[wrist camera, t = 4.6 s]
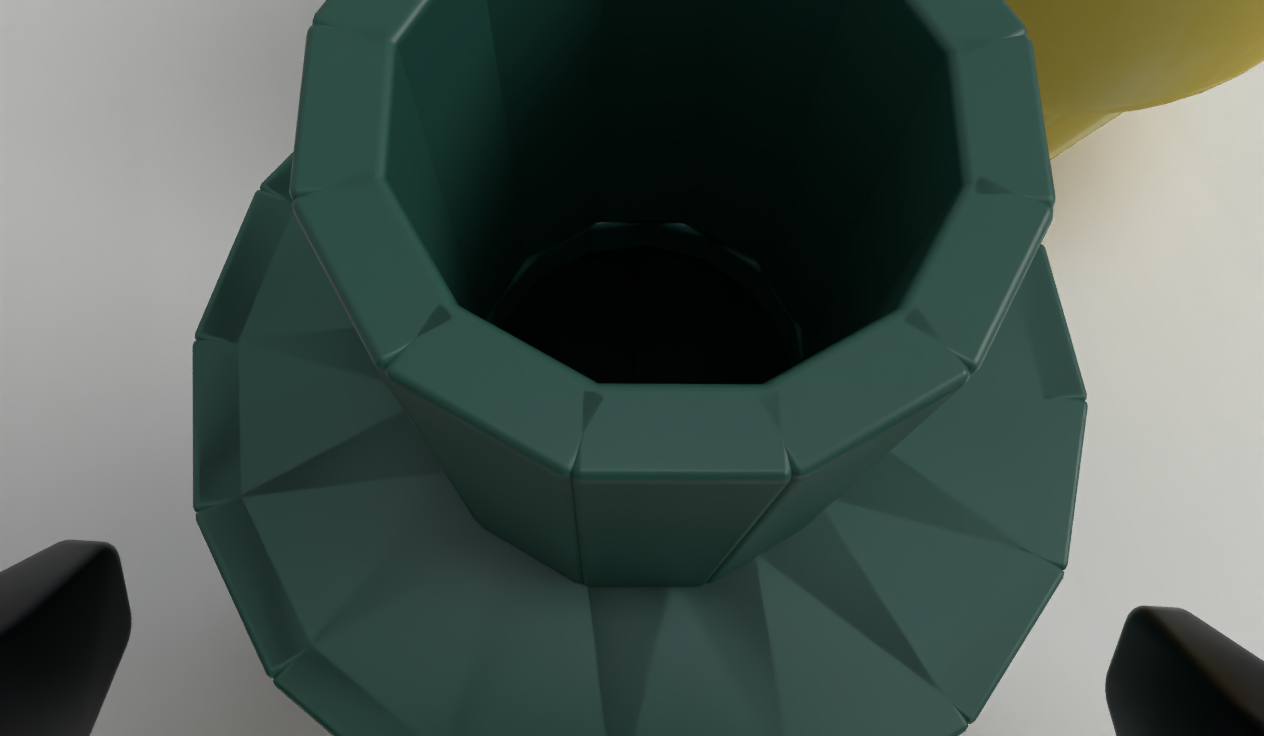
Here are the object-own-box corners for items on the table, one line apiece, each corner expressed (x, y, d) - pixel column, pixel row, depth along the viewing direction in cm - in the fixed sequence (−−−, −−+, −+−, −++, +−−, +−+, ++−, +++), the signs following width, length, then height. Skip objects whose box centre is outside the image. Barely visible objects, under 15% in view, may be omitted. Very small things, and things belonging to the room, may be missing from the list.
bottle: (543, 844, 17) (278, 1490, 3) (369, 502, 19) (-336, -137, 5) (870, 638, 18) (1803, 387, 4) (679, 334, 20) (874, -582, 6)
